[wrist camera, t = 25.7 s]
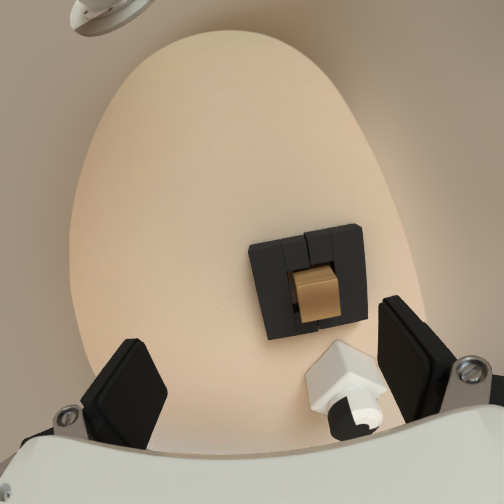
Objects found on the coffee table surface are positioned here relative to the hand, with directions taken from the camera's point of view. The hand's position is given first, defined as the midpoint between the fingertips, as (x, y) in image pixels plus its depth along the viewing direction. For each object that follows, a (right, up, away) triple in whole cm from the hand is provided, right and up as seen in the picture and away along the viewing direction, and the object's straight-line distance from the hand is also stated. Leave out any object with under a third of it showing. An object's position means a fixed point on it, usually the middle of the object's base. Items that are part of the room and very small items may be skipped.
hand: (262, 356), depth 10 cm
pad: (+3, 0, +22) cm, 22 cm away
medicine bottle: (+12, -12, +25) cm, 30 cm away
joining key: (+6, +1, +22) cm, 22 cm away
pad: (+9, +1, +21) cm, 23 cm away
